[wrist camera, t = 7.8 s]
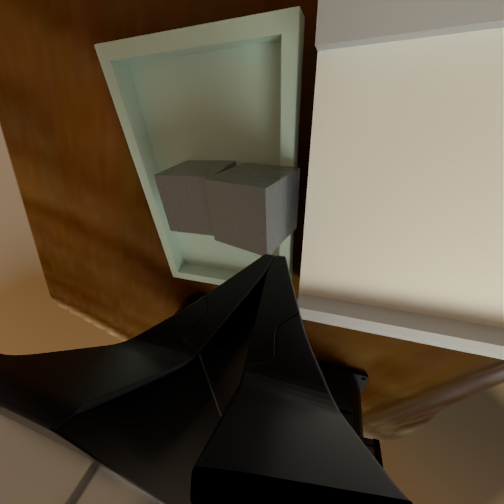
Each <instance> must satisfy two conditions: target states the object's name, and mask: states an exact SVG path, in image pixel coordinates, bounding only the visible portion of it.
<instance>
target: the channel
mask: <svg viewBox="0 0 504 504" xmlns="http://www.w3.org/2000/svg"><path fill="white" fill-rule="evenodd" d="M315 47H316V49H317V51H318V53H317V66H316V79H315V92H314V105H313V117H312V130H311V143H310V156H309V169H308V182H307V195H306V207H305V220H304V233H303V246H302V259H301V272H300V285H299V295H298V300H297V303H298V307H299V311H300V315H301V318H302V319H304V320H309V321H314V322H319V323H324V324H329V325H334V326H339V327H343V328H348V329H353V330H358V331H363V332H368V333H373V334H378V335H383V336H388V337H393V338H398V339H403V340H408V341H413V342H418V343H423V344H428V345H433V346H438V347H443V348H448V349H453V350H458V351H463V352H468V353H473V354H478V355H483V356H488V357H493V358H498V359H502V360H504V0H318V9H317V23H316V37H315Z"/></svg>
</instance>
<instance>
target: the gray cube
mask: <svg viewBox="0 0 504 504" xmlns="http://www.w3.org/2000/svg"><path fill="white" fill-rule="evenodd" d="M235 166H236V161H227V160H186V161H184V162H182V163H179V164H177V165H175V166H173V167H170V168H168V169H166V170H164V171H161V172H159V173H157V174H155V175H154V178H155V181H156V184H157V188H158V191H159V194H160V198H161V201H162V204H163V208H164V211H165V214H166V218H167V221H168V224H169V228H170V231H176V232H185V233H193V234H202V235H211V236H214V233H213V227H212V222H211V216H210V211H209V205H208V200H207V194H206V188H205V183H204V179H205V178H207V177H210V176H212V175H215V174H217V173H220V172H223V171H225V170H228V169H230V168H233V167H235Z"/></svg>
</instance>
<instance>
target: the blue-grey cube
mask: <svg viewBox="0 0 504 504" xmlns="http://www.w3.org/2000/svg"><path fill="white" fill-rule="evenodd" d="M299 181H300V168H298V167H287V166H277V165H266V164H255V163H243V164H240V165H238V166H235V167H233V168H230V169H228V170H225V171H223V172H220V173H217V174H215V175H212V176H210V177H207V178H205V179H204V183H205V188H206V194H207V200H208V205H209V211H210V216H211V222H212V227H213V233H214V238H215V240H216V241H219V242H222V243H225V244H228V245H231V246H234V247H237V248H240V249H243V250H246V251H249V252H252V253H255V254H258V255H261V256H263V255H264V254H271V253H272V252H273V251H274V250H275V249H276V248H277V247H278V246H279V245H280V244H281V243H282V242H283V241H284V240H285V239H286V238H287V237H288V236H289V235H290V234H291V233H292V232H293V231H294V230H295V229H296V228H297V215H298V198H299Z"/></svg>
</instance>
